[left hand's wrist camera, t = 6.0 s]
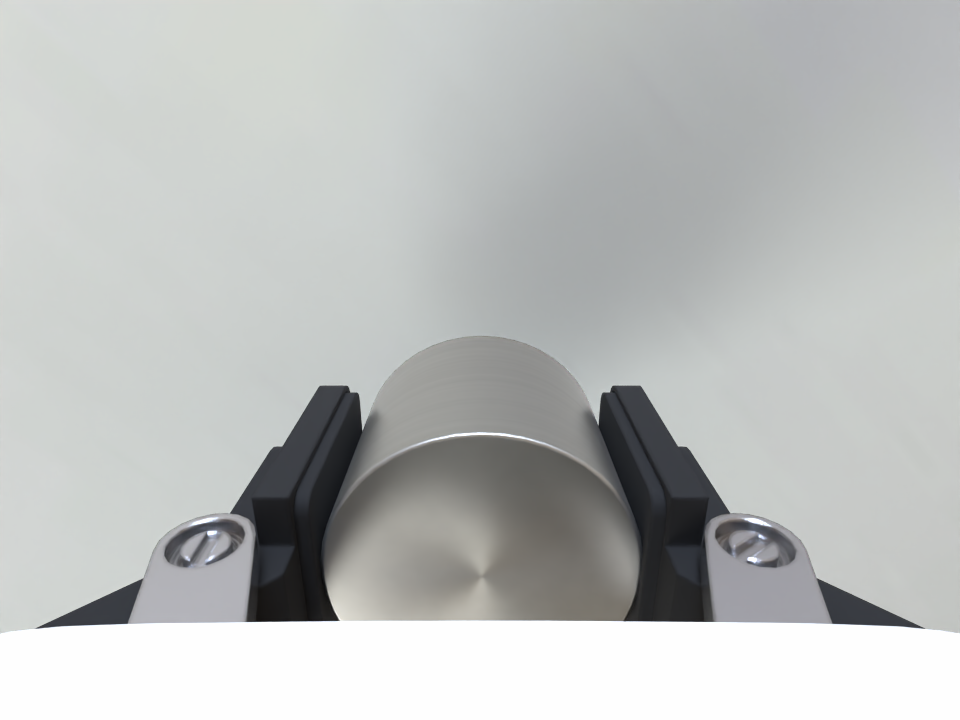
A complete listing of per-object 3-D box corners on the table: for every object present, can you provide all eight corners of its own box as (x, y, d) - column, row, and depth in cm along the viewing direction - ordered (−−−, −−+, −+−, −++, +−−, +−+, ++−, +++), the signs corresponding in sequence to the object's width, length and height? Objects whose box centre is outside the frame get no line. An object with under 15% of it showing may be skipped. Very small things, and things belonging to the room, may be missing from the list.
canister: (615, 347, 12) (677, 452, 8) (574, 544, 14) (610, 704, 10) (372, 322, 12) (321, 416, 8) (363, 525, 13) (317, 681, 10)
